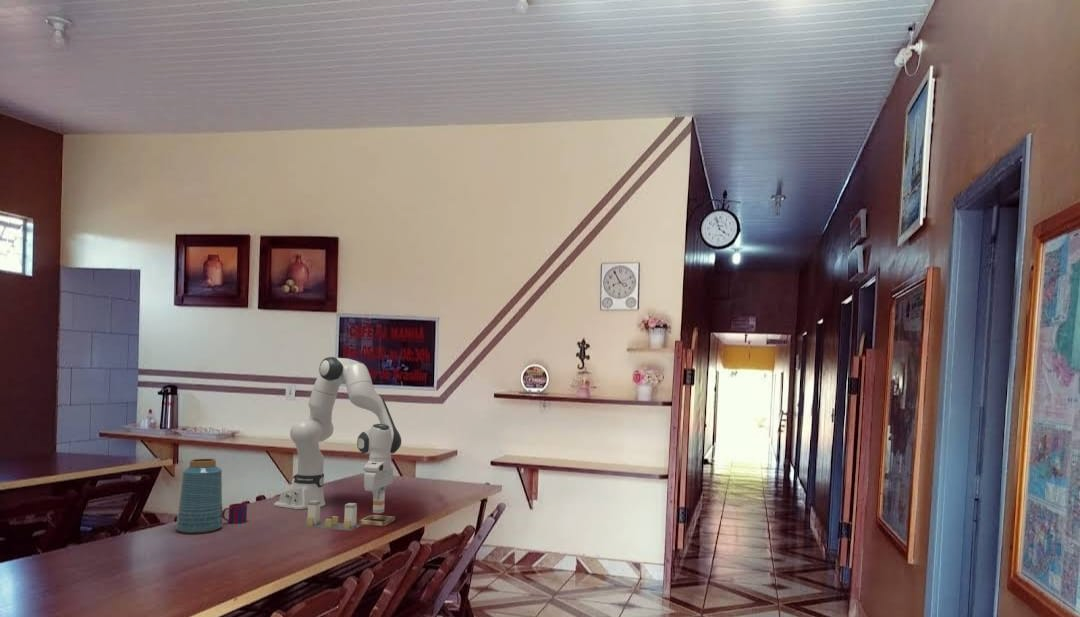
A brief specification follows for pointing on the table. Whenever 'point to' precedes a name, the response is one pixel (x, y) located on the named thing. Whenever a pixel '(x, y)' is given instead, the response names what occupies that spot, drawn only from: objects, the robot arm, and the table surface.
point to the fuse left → (314, 511)
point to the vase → (200, 497)
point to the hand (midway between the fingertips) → (378, 498)
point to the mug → (236, 513)
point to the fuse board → (331, 524)
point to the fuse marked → (379, 502)
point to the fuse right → (351, 514)
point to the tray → (387, 520)
